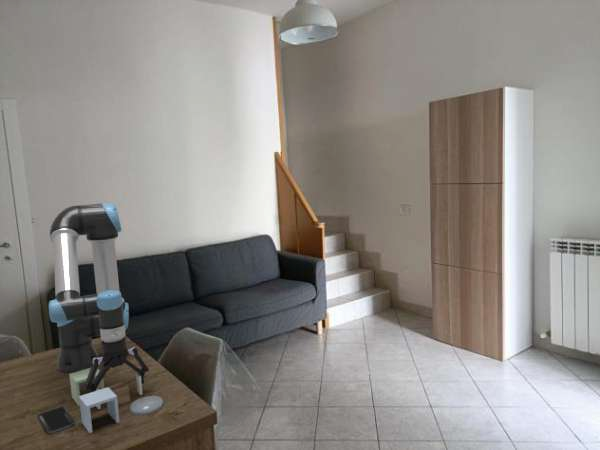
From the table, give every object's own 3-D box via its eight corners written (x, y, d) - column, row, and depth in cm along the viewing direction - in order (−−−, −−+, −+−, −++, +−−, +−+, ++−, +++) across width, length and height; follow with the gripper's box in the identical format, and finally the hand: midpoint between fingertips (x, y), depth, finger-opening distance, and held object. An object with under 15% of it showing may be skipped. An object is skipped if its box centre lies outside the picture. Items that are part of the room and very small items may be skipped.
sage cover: (71, 397, 159) (69, 373, 158) (98, 388, 165) (95, 366, 164) (78, 405, 153) (75, 381, 152) (105, 396, 158) (102, 373, 157)
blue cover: (81, 422, 142) (78, 396, 141) (110, 412, 147) (108, 387, 146) (89, 433, 135) (86, 406, 134) (119, 422, 141) (116, 396, 140)
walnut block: (109, 401, 155) (108, 386, 154) (125, 395, 158) (123, 381, 158) (114, 406, 151) (113, 391, 151) (130, 400, 154) (128, 386, 154)
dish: (126, 406, 150) (125, 403, 150) (155, 396, 156) (155, 393, 156) (137, 418, 142) (136, 414, 142) (168, 406, 148) (167, 403, 148)
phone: (47, 433, 135) (37, 414, 147) (47, 436, 135) (37, 417, 147) (76, 423, 140) (64, 405, 152) (76, 426, 140) (64, 408, 152)
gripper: (75, 352, 142) (82, 418, 144) (154, 331, 157) (160, 391, 159) (69, 346, 147) (76, 409, 149) (146, 326, 163) (152, 384, 165)
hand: (119, 400), depth 154 cm, fingers open, 13 cm apart
